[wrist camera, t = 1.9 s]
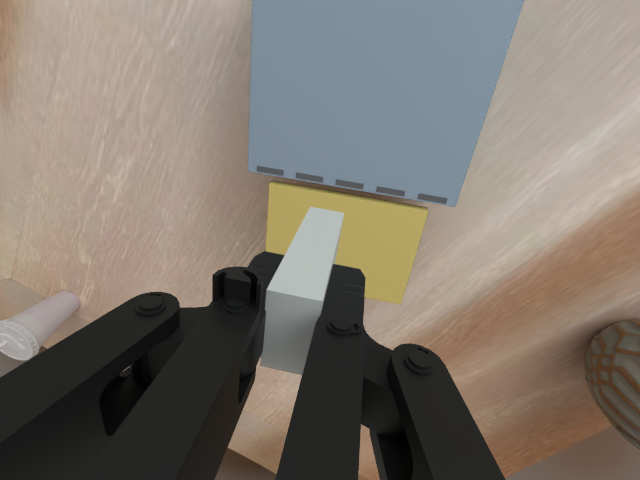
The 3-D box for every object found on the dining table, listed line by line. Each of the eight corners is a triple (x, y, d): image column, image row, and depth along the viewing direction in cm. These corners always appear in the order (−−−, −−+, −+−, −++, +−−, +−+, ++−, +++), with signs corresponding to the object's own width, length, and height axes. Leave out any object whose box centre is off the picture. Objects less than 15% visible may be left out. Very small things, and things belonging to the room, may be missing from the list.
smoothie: (51, 276, 52) (-50, 340, 40) (90, 295, 53) (2, 364, 41) (48, 304, 55) (-48, 372, 43) (85, 322, 56) (0, 394, 44)
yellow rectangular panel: (272, 180, 31) (269, 183, 30) (427, 207, 30) (428, 211, 29) (266, 272, 36) (263, 277, 35) (400, 298, 35) (400, 304, 34)
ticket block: (287, -29, 31) (254, -64, 23) (492, -5, 29) (534, -32, 21) (275, 149, 38) (247, 171, 30) (439, 177, 36) (455, 207, 28)
